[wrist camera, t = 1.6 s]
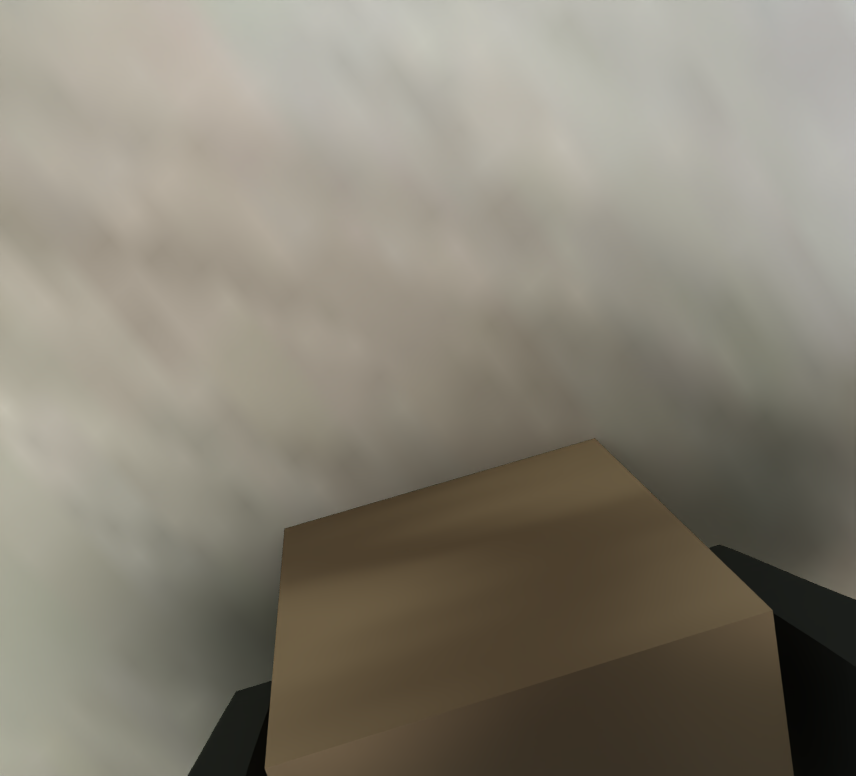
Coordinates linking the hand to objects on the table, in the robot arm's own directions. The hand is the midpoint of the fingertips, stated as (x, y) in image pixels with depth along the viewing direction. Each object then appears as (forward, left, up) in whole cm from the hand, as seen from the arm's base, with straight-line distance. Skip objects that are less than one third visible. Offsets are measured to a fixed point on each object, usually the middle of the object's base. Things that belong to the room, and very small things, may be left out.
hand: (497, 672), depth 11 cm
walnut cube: (0, 0, -2) cm, 2 cm away
